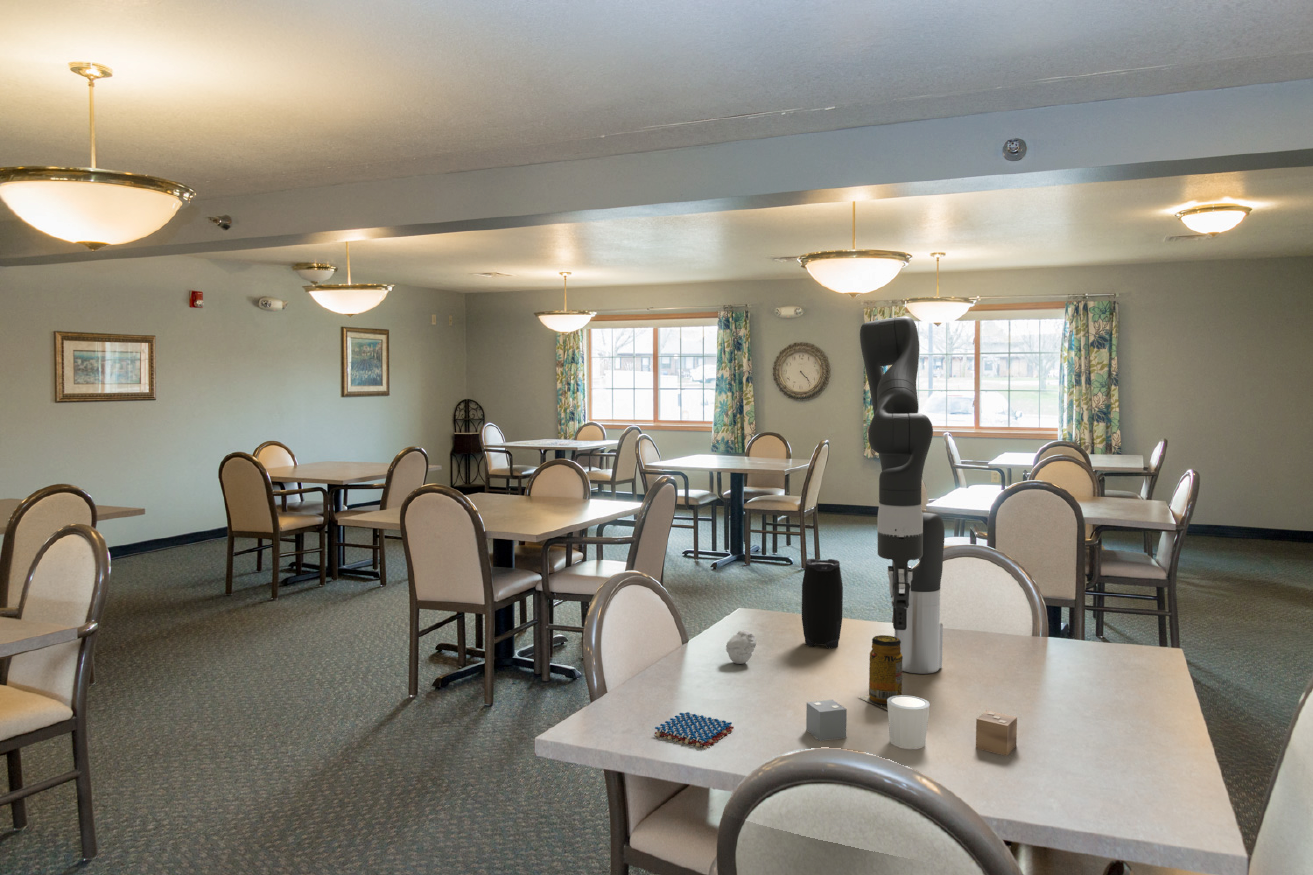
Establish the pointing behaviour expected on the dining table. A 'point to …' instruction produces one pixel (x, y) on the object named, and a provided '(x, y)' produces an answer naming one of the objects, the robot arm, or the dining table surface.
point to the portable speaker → (822, 602)
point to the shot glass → (908, 721)
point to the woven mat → (694, 729)
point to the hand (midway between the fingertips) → (899, 628)
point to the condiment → (884, 670)
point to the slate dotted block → (826, 720)
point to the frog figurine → (741, 647)
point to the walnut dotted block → (996, 732)
